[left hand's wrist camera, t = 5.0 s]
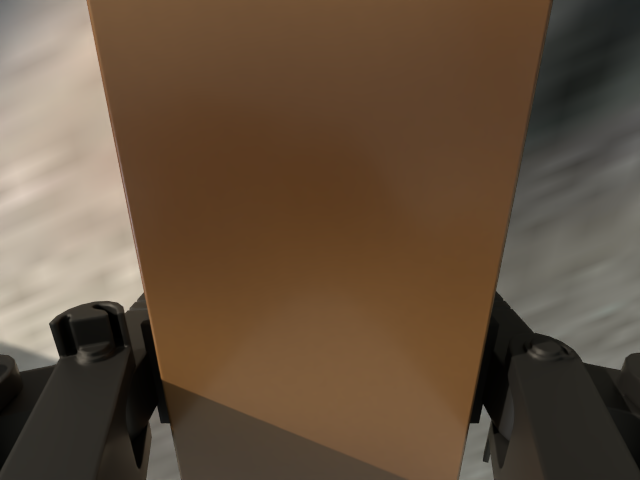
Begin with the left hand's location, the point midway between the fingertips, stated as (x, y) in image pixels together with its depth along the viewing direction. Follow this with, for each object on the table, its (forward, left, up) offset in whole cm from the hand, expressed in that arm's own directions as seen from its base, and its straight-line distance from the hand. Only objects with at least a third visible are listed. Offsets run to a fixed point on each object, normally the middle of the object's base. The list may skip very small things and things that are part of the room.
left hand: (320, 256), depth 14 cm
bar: (+6, +19, 0) cm, 20 cm away
